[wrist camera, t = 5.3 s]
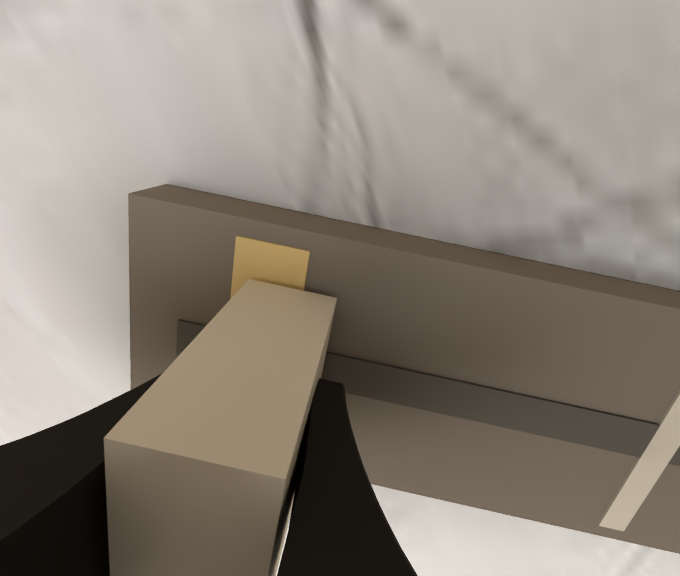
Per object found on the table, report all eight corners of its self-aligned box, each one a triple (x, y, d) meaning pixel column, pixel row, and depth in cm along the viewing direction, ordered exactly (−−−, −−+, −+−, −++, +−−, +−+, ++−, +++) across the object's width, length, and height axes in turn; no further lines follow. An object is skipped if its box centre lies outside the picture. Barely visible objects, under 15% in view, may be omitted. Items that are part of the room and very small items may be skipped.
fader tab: (336, 297, 11) (285, 479, 5) (308, 442, 13) (247, 690, 7) (249, 278, 11) (103, 437, 5) (232, 425, 13) (113, 658, 7)
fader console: (819, 320, 12) (903, 357, 10) (683, 510, 15) (727, 567, 13) (166, 184, 13) (126, 194, 11) (161, 393, 16) (129, 431, 14)
